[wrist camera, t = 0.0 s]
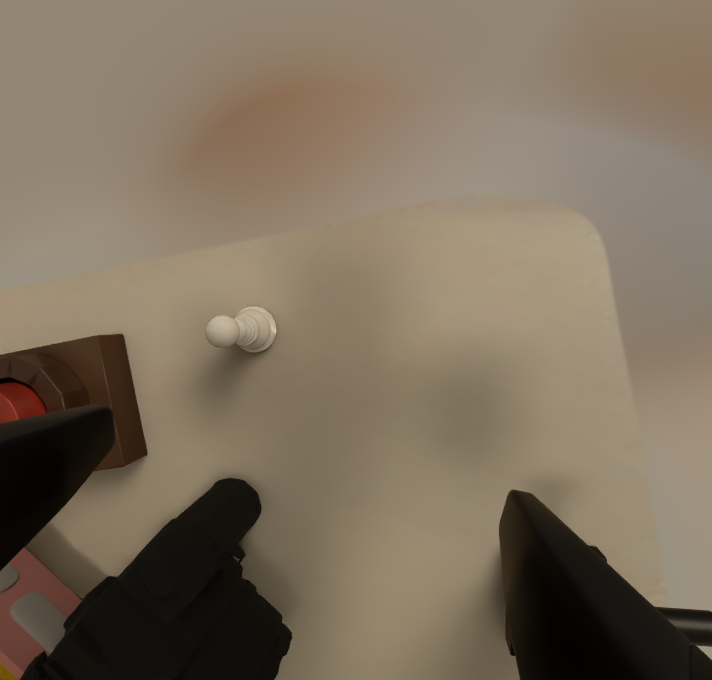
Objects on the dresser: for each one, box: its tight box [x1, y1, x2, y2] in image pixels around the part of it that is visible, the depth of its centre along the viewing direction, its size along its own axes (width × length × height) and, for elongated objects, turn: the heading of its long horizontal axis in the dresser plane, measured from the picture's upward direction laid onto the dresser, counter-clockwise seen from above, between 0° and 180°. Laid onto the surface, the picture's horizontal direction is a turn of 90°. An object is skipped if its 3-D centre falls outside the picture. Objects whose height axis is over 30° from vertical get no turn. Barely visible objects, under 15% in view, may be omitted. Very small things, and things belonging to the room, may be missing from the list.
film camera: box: [19, 478, 292, 680], centre depth 21 cm, size 15×10×9 cm, turn 139°
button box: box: [0, 334, 147, 471], centre depth 25 cm, size 10×8×4 cm
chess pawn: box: [205, 306, 276, 353], centre depth 22 cm, size 3×3×5 cm
